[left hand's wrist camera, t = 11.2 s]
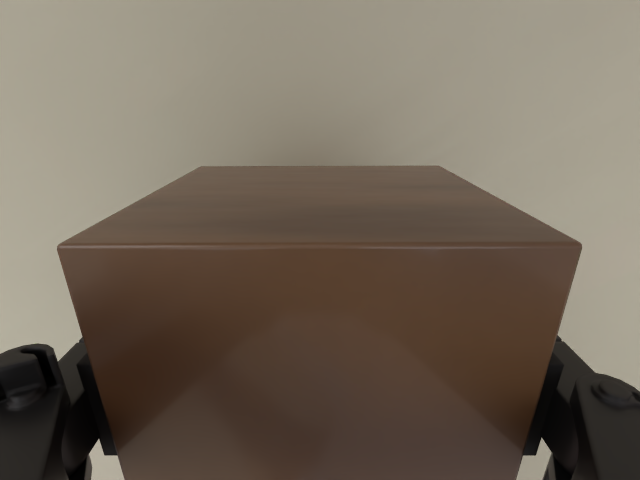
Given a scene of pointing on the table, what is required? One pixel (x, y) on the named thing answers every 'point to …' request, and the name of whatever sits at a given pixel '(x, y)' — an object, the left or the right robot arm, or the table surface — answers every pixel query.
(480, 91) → the table surface
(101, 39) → the table surface
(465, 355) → the thick board
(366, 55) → the table surface
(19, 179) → the table surface
